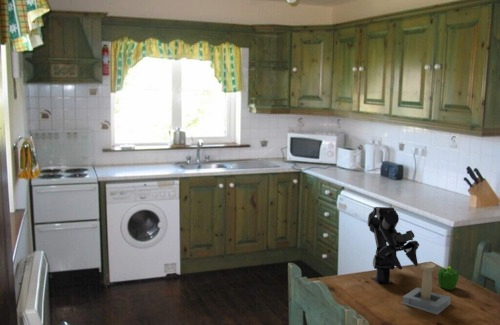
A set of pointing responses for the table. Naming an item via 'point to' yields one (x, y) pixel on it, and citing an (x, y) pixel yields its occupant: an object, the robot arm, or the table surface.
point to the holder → (432, 306)
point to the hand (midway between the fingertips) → (409, 267)
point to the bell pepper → (448, 278)
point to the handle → (427, 280)
